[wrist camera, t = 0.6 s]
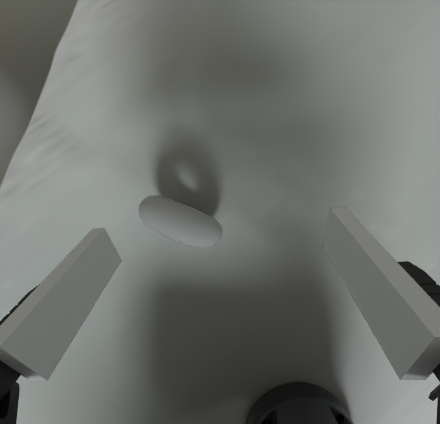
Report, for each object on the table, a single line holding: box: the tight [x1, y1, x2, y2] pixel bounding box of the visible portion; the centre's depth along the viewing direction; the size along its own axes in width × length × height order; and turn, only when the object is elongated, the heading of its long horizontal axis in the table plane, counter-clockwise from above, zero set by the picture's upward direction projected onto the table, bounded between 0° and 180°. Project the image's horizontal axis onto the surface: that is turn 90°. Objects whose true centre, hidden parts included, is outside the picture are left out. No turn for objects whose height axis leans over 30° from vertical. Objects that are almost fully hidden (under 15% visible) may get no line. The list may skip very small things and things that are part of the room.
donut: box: [139, 195, 222, 247], centre depth 24 cm, size 10×4×10 cm, turn 67°
